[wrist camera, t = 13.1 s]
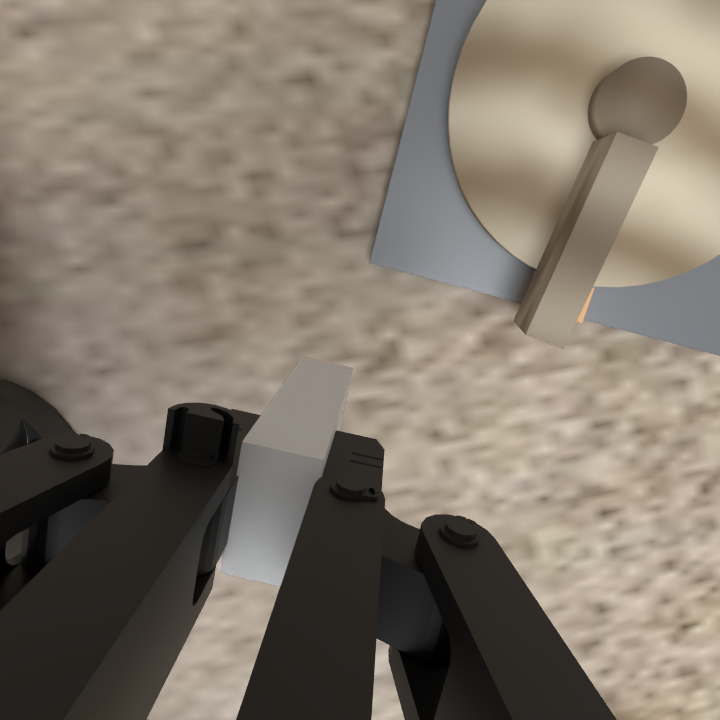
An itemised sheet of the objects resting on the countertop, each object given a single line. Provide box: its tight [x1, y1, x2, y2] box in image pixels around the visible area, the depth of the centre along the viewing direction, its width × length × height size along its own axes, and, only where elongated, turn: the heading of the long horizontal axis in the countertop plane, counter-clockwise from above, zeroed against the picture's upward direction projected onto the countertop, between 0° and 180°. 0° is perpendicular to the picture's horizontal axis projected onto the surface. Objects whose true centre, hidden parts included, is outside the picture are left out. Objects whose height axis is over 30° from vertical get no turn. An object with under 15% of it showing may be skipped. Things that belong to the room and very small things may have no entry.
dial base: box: [370, 0, 720, 356], centre depth 32 cm, size 22×22×4 cm
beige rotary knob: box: [448, 0, 720, 349], centre depth 29 cm, size 21×18×6 cm
